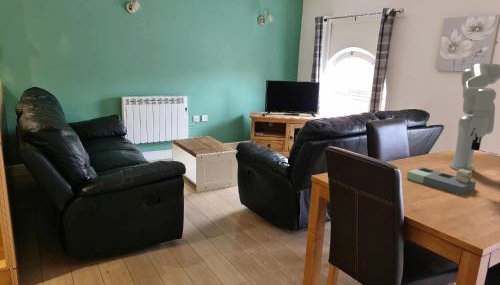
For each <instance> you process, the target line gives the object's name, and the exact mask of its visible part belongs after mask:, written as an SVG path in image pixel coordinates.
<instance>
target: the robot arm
mask: <svg viewBox="0 0 500 285" xmlns="http://www.w3.org/2000/svg"><path fill="white" fill-rule="evenodd" d="M499 79H500V64H498V63H489V62H488V63H487V62H486V63H483V62H479V63H476V64H474V65H472V67H470V68H466V69H465V70H463V72H462V73H461V85H462V98H463V103H462V112H463V113H464V114H465V116H462V117H460V118H459V120H458V127H457V128H458V129H457V130H458V133H457V138H456V140H457V141H456V144H455V151H454V157H453V162H452V163H450V164H449V167H450V168H452V169H454V170H456V171H458V170H460V169H464V170H468V171H472V172H473V171H474V169H475V167H473V165H472V164H473V162H474V161H473V158H474V155H475V154H474V153H475V151H477V152H478V151H480V147H481V144H482V143H481V142H482V139H483V138H484V137H485V136H486V135H490V134H492V132H493V131H494V127H495V126H494V125H495V117H496V116H495V113H496V105H495V102H494V101H495V100H496V97H497V92H496V90H495V89H494V88H493V87H492V88H490V87H487V86H489V85H494V84H495V83H496V82H497V81H499Z"/></svg>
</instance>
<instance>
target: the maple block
mask: <svg viewBox="0 0 500 285" xmlns="http://www.w3.org/2000/svg"><path fill="white" fill-rule="evenodd" d="M472 175H473V171H468V170H464V169H460V170H456V175H455V176H456V180H457V181H461V182H465V183H467V182H469V181H470V180H472Z"/></svg>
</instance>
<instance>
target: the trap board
mask: <svg viewBox="0 0 500 285" xmlns="http://www.w3.org/2000/svg"><path fill="white" fill-rule="evenodd" d="M406 179H407V180H411V181H413V182H417V183H420V184H422V185H423V184H424V185H427V186H430V187H433V188H436V189H439V188H440V190H442V189H443V190H442V191H446V192H450V193H452V194H456V195H459V196H462V195H465V194H467V193H469V192H471V191H473V190H475V189H476V183H477V182H476V181H475V180H472V179H471V180H470V181H469V182H467V183H465V182H461V181H457V180H456V175H453V174H448V173H445V172H441V171H438V170H435V169H430V168H427V167H423V166H422V167H417V168H415V169H411V170H408V171H407V175H406Z"/></svg>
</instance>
